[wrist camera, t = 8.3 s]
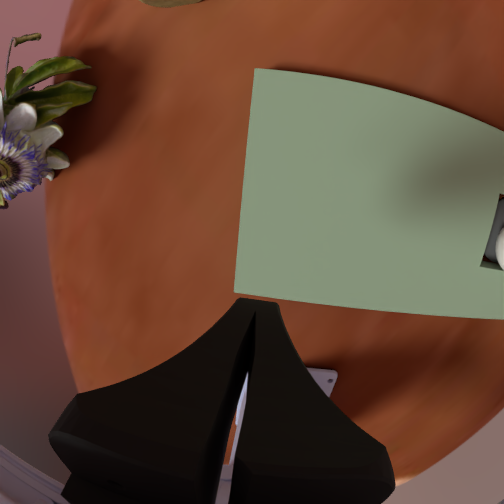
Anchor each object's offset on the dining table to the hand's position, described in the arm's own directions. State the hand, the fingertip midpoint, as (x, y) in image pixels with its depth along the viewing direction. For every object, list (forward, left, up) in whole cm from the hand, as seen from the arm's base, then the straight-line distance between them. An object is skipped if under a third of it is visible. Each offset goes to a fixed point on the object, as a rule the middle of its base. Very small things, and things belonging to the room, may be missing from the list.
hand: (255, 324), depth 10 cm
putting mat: (+3, -11, -10) cm, 15 cm away
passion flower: (+7, +19, -11) cm, 23 cm away
